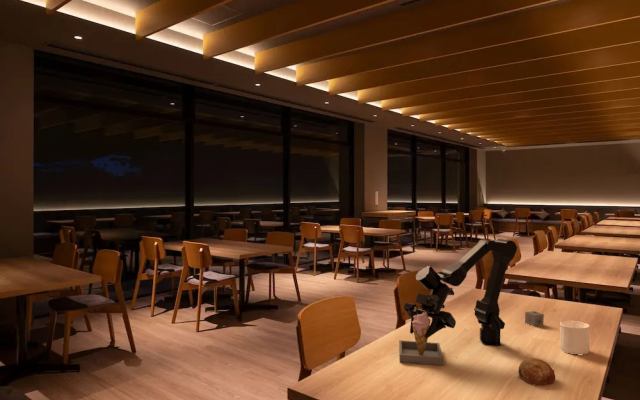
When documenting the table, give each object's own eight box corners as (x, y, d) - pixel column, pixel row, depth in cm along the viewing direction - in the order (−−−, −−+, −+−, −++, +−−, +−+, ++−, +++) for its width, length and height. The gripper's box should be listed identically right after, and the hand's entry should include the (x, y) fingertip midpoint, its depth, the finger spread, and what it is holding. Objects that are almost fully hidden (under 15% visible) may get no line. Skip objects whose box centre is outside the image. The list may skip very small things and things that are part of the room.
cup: (586, 347, 158) (586, 321, 158) (593, 357, 148) (594, 329, 148) (556, 344, 161) (557, 318, 161) (562, 354, 151) (562, 326, 151)
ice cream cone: (430, 359, 144) (431, 315, 144) (411, 358, 146) (412, 314, 145) (429, 351, 151) (430, 309, 150) (411, 350, 152) (411, 308, 151)
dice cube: (543, 325, 184) (543, 314, 184) (534, 326, 182) (534, 315, 182) (534, 322, 189) (534, 311, 188) (525, 323, 187) (525, 311, 187)
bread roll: (517, 383, 136) (507, 361, 135) (545, 369, 136) (535, 346, 136) (535, 398, 126) (524, 374, 125) (565, 383, 127) (555, 359, 126)
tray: (438, 350, 154) (439, 343, 154) (443, 365, 140) (443, 358, 140) (399, 347, 156) (399, 340, 156) (399, 362, 142) (399, 354, 142)
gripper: (406, 280, 157) (386, 315, 150) (451, 289, 143) (432, 329, 136) (419, 298, 163) (400, 333, 156) (464, 308, 149) (445, 347, 142)
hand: (418, 335), depth 147 cm, fingers closed on ice cream cone, 6 cm apart
